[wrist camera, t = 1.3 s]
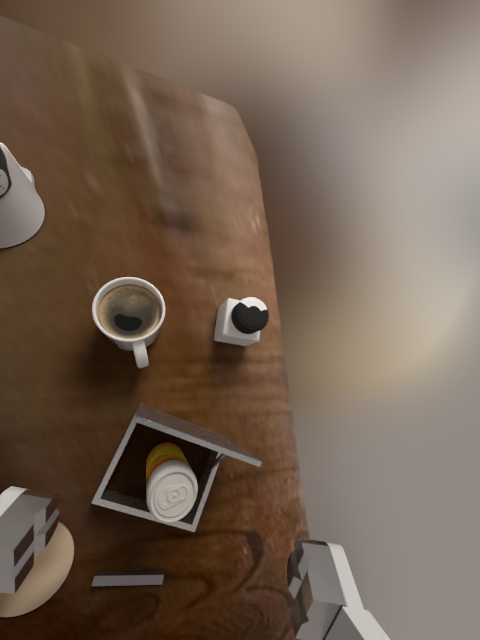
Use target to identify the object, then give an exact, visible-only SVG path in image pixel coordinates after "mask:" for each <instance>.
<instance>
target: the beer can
mask: <svg viewBox="0 0 480 640" xmlns="http://www.w3.org/2000/svg"><path fill="white" fill-rule="evenodd" d="M197 492H198V484H197V479H196V477H195V475H194V473H193V471H192V469H191V467H190V466H189V464H188V462H187V460H186V458H185V456H184V454H183V452H182V451H181V449H180V448H179V447H178V446H177V445H176V444H174V443H170V442H166V443H161V444H159V445H157V446H156V447H155V448H154V449H152V451H151V452H150V453H149V455H148V458H147V461H146V496H147V506H148V509H149V511H150V513H151V514H152V515H153V516H154V517H155V518H156V519H158V520H160V521H163V522H175V521H178V520H180V519H182V518H183V517H184V516H186V515H187V514H188V512H189V511H190V510H191V508H192V507H193V504H194V502H195V500H196V497H197Z"/></svg>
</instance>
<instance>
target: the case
mask: <svg viewBox="0 0 480 640" xmlns="http://www.w3.org/2000/svg"><path fill="white" fill-rule="evenodd" d="M136 423H140V424H143V425H146V426H148V427H151V428H154V429H157V430H159V431H162V432H165V433H168V434H170V435H173V436H176V437H179V438H181V439H184V440H187V441H190V442H192V443H195V444H198V445H201V446H203V447H206V448H209V449H212V450H211V452H210V455H209V458H208V461H207V463H206V466H205V469H204V471H203V474H202V477H201V479H200V482H199V485H198V492H197V497H196V500H195V502H194V504H193V507H192V508H191V510H190V511H189V512H188V514H187V515H186V516H184V517H183V518H182V519H180V520H178V521H175V522H163V521H160V520H158V519H156V518H155V517H154V516H153V515H152V514H151V513H150V511H149V509H148V506H147V501H146V500H143V499H140V498H136V497H133V496H130V495H126V494H123V493H119V492H116V491H113V490H109V489H106V488H105V487H106V485H107V483H108V481H109V479H110V477H111V475H112V473H113V471H114V469H115V467H116V465H117V463H118V460H119V458H120V456H121V454H122V452H123V450H124V448H125V446H126V444H127V442H128V440H129V438H130V436H131V434H132V432H133V430H134V427H135V425H136ZM226 455H228V456H231V457H234V458H236V459H239V460H242V461H245V462H247V463H250V464H253V465H256V466H258V467H260V466H261V463H262V462H261V461H260V460H258V459H257V458H255V457H254V456H252V455H251V454H249V453H248V452H246V451H245V450H244V449H242V448H241V447H239V446H238V445H236V444H235V443H233V442H232V441H230V440H229V439H227V438H226V437H224V436H223V435H221V434H219V433H216V432H214V431H211V430H208V429H206V428H203V427H200V426H198V425H195V424H193V423H190V422H187V421H185V420H182V419H179V418H177V417H174V416H172V415H169V414H166V413H164V412H161V411H159V410H156V409H153V408H151V407H148V406H145V405H143V404H139V406H138V408H137V411H136V413H135V415H134V417H133V419H132V421H131V423H130V425H129V427H128V429H127V431H126V433H125V435H124V437H123V439H122V441H121V443H120V445H119V447H118V449H117V451H116V453H115V455H114V457H113V459H112V461H111V463H110V465H109V467H108V469H107V471H106V473H105V475H104V477H103V479H102V481H101V483H100V485H99V488H98V490H97V492H96V494H95V496H94V498H93V501H92V504H95V505H99V506H103V507H106V508H110V509H113V510H117V511H121V512H124V513H128V514H131V515H135V516H139V517H142V518H146V519H149V520H153V521H156V522H160V523H164V524H167V525H171V526H174V527H178V528H182V529H185V530H189V531H192V532H195V530H196V527H197V524H198V521H199V519H200V516H201V513H202V510H203V507H204V505H205V502H206V499H207V496H208V493H209V490H210V488H211V485H212V482H213V479H214V476H215V474H216V471H217V468H218V465H219V462H220V461H221V460H222V459H223V458H224V457H225V456H226Z"/></svg>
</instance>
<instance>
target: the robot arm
mask: <svg viewBox="0 0 480 640" xmlns="http://www.w3.org/2000/svg"><path fill="white" fill-rule="evenodd" d="M44 214H45V213H44V205H43V203H42V200H41V198H40V197H39V195H38V194H37V192H36V190H35V185H34V177H33V175H32V174H31V172H30V171H29V170H28V169H26V168H23V167H20V165H19V164H18V163H17V161H16V160H15V158H14V157H13V156H12V154H11V153H10V152H9V150H8V149H7V147H6V146H5V145H4V144H2V143H0V248H6V247H11V246H15V245H17V244H20V243H22V242H24V241H26V240H28V239H29V238H31V237H32V236H33V235H34V234H35V233H36V232H37V231H38V230H39V229H40V227H41V225H42V223H43V220H44ZM59 504H60V495H54V494H49V493H44V492H39V491H33V490H29V489H24V488H18V487H13V486H11V487H10V488H8V489H7V490H5V491H4V492H3V493H2V494H1V495H0V592H1V593H9V594H15V593H16V592H17V590H18V589H19V587H20V586H21V584H22V583H23V581H24V580H25V578H26V577H27V575H28V574H29V572H30V571H31V569H32V568H33V566H34V556H35V555H36V554H38V553H39V552H41V551H42V550H43V549H45V548H46V546H47V544H48V543H49V541H50V540H51V538H52V536H53V534H54V532H55V530H56V528H57V525H58V522H59V516H60V513H59V511H58V510H57V509H56V508H57V507H58V505H59ZM294 546H295V551H293V552H292V553H290V556H289V559H288V565H287V580H288V588H289V591H290V592H291V594H292V596H293V597H294V602H293V604H292V607H291V611H292V618H293V625H294V632H295V638H298V639H303V640H390V639H389V638H388V636H387V635H386V633H385V632H384V631H383V629H382V628H381V627H380V625H379V624H378V623H377V621H376V620H375V619H374V617H373V616H372V615H371V613H370V612H369V611H367V610H364V608H363V605H362V602H361V599H360V596H359V594H358V591H357V588H356V585H355V582H354V579H353V576H352V573H351V570H350V567H349V564H348V561H347V558H346V555H345V552H344V550H343V548H342V546H341V545H338V544H332V543H326V542H323V541H317V540H310V539H304V538H297V539H296V541H295V543H294Z"/></svg>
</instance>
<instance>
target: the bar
mask: <svg viewBox="0 0 480 640" xmlns="http://www.w3.org/2000/svg"><path fill="white" fill-rule="evenodd" d="M163 578H164V571H131V572H95V575H94V578H93V582H92V586H123V585H161V584H162V582H163Z"/></svg>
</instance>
